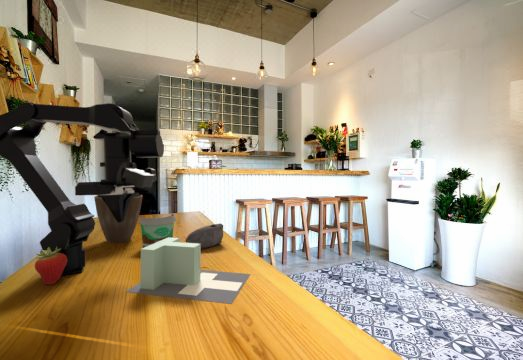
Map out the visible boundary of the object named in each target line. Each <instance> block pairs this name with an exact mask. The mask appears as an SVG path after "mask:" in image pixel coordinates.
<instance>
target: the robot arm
mask: <svg viewBox="0 0 523 360" xmlns="http://www.w3.org/2000/svg"><path fill="white" fill-rule="evenodd" d="M47 123H51V124H52V123H54V124H65V125H66V124H67V125H68V124H69V125H82V126H94V127H98V128H100V130H99V131H98V132H97V133H95V134H94V135H93V137H92V139H94V140H98V141H103V156H104V157H103V159H104V161H103V162H99V167H100V168H104V179H100V181H79V182H77V184H76V185H75V186H74V194H75V196H98V197H101V198H102V200H103V201H104V202H105V204H106V205H107V206H108V208H109V209H110V211H111V213H112V214H113V216H114V218H115V219H116V221H117V222H123V221H124V218H125V215H126V212H127V209H128V206H129V203H130V201H131V199H132V198H133V197H135V196H136V195H140V194H139V193H140V192H135V191H153V190H154V188H153V186H154V185H153V182H156V181H157V180H158V179H157V171H156V169H154V168H151V167H147V168H145V169H138V167H137V164H136V162H132V154H133V155H134V156H135V157H136V158H138V159H140V158H141V159H144V158H146V159H147V158H162V157H163V156H164V152H165V144H163V143H164V142H163V138H162V135H161V131H160V130H159V129H157V128H154V129H143V130H142V129H139V128H138V127H137V125H136V124H135V123H134V118H133V116H132V114H131V112H129V111H128V110H126V109H124V108H123V107H120V106H119V105H117V104H114V103H112V102H111V103H109V102H108V103H98V104H93V105H92V106H86V107H85V106H83V107H82V106H72V105H71V106H69V105H55V104H43V103H33V102H30V101H29V102H28V101H27V102H23V103H21V104H20V105H19V106H17V107H16V108H15V109H13V110H10V111H8V112H5V113H3V114H0V157H1V158H3V159H4V160H7V161H8V162H10V164H11V165H12V166H13V168H14V169H15V170H16V172H17V173H18V174H19V176H20V177H21V178H22V180H23V181H24V182H25V184H27V186H28V188H29V189H30V191H32V193H33V194H34V196H35V197H36V198H37V199H38V201H39V202H40V204H41V205H42V207H44V209H45V210H46V212H47V225H48V227H49V229H50V232H49V233H48V234H46V236H44V237H43V238H42V239H41V240H40V241H39V244H40V247H41V249H42V251H43V252H45V251H46V252H47V248H48V247H49V248H50V249H51V253H52V252H54V251H55V250H56V248H57V249H60V248H61V249H60V250H59V251H58V252H56V253H62V254H64V255H66V257H67V264H66V266H65V268H64V270H63V272H62V274H61V276H65V275H71V274H77V273H82V272H83V270H84V268H85V267H86V248H85V247H83V243H85V242H87V241H88V239H89V237H90V235H91V234H92V233H93V231H95V226H96V221H95V219H94V217H95V214H93V213H91V211H90V210H89V208H88V206H87V204H85V203H79V204H75V203H74V202H73V201H71V200H70V199H69V197H68V196H67V195H66V193H65V192H64V190H63V189H62V187H61V186H60V185H59V184H58V182H57V181H56V180H55V178H54V177H53V175H52V174H51V173H50V172H49V170H48V169H47V167H46V166H45V164H43V162H42V161H41V160H40V158H39V157H38V155H37V153H36V152H37V151H36V150H37V144H36V142H35V140H34V139H36V138H37V137H38V136H39V135H40V134H41V132H42V130H43V127H44V125H46V124H47ZM24 124H26V125H24ZM21 125H24V126H21ZM107 130H109V131H114V132H108V131H107ZM121 133H124V134H127V135H123V134H121ZM56 246H57V247H56Z"/></svg>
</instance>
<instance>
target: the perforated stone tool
mask: <svg viewBox="0 0 523 360" xmlns="http://www.w3.org/2000/svg"><path fill="white" fill-rule="evenodd" d="M223 238H224V224H222V223H214V224H213V223H212V224H211V225H205V226H202V227H200V228H198V229H195V230H193V231H192V232H190V233H189V234H188V235H187V236H186V239H185V243H198V244H201V249H207V248H211V247H214V246H216V245H219V244H222V242H223Z"/></svg>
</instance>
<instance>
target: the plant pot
mask: <svg viewBox="0 0 523 360" xmlns="http://www.w3.org/2000/svg"><path fill="white" fill-rule="evenodd" d="M93 198H94V203H95V204H94V205H95V208H96V209H95V210H96V214H97V218H98V222H99V225H100V227H101V230H102V233H103V236H104V238H105V240H106V242H107V243H109V244H121V243H126V242H129V241H130V240H132V238H133V235H134V233H135V232H134V231H135V230H136V227H137V224H138V222H139V218H140V217H139V216H140V214H141V208H142V201H143V195H142V194H138V195H136V196H135V197H133V198H132V199H131V201H130V203H129V206H128V209H127V212H126V215H125V218H124V221H123V222H117V221H116V219H115V218H114V216H113V214H112V213H111V211H110V209H109V208H108V206H107V205H106V204H105V202H104V201H103V200H102V198H101V197H98V195H94V197H93Z"/></svg>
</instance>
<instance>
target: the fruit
mask: <svg viewBox="0 0 523 360" xmlns="http://www.w3.org/2000/svg"><path fill="white" fill-rule="evenodd" d="M56 247H57V246H56ZM60 249H61V248H60ZM60 249H57V248H56V250H55V251H54V252H52V253H51V249H50V248H49V247H48V248H47V251H46V252H45V251H43V250H42V248H41V249H40V251H39V254H38V253H36V255H37V256H39V257H36V259H37V260H36V261H35V263H34V269H35V271H36V272H37V274H39V275H40V278H41V279H42V281H43V283H44V284H46V285H53V284H56V283H57V282H58V281H59V279H60V278H61V276H62V275H61V274H62V272H63V270H64V268H65V266H66V264H67V257H66V255H64V254H62V253H56V252H58V251H59V250H60Z"/></svg>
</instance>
